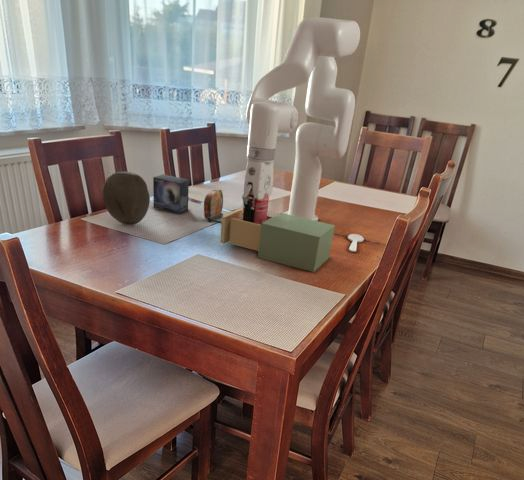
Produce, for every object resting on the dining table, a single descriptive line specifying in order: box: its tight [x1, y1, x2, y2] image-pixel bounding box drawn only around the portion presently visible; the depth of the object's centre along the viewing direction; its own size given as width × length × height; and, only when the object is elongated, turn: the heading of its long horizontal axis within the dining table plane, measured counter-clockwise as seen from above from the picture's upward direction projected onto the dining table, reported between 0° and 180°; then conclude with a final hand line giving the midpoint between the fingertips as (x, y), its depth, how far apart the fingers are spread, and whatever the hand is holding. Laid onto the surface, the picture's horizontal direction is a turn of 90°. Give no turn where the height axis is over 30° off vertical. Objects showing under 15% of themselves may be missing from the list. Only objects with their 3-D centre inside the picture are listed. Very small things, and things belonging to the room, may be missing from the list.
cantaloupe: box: [102, 171, 151, 226], centre depth 144 cm, size 14×14×15 cm
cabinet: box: [257, 212, 336, 273], centre depth 135 cm, size 17×14×10 cm
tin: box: [203, 189, 224, 220], centre depth 161 cm, size 15×3×8 cm, turn 168°
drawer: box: [206, 207, 274, 252], centre depth 140 cm, size 22×13×8 cm, turn 65°
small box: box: [152, 173, 190, 215], centre depth 163 cm, size 11×6×10 cm, turn 68°
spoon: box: [347, 233, 365, 253], centre depth 155 cm, size 5×18×1 cm, turn 166°
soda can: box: [242, 193, 270, 225], centre depth 137 cm, size 7×7×13 cm
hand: (254, 219), depth 137 cm, fingers closed on soda can, 7 cm apart
